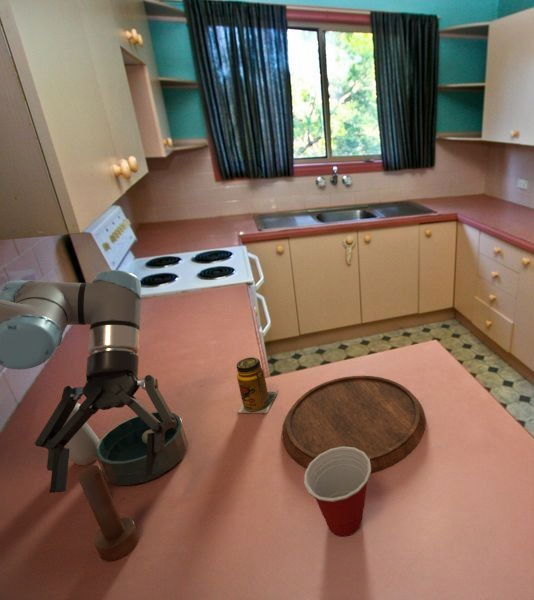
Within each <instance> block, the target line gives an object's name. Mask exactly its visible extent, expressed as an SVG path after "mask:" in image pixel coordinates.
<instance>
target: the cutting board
mask: <svg viewBox="0 0 534 600" xmlns="http://www.w3.org/2000/svg"><path fill="white" fill-rule="evenodd" d="M425 427H426V415H425V411H424V408H423V405H422V403H421V402H420V401H419V399H418V398H417V397H416V396H415V395H414V394H413V393H412V392H411V391H410V390H409V389H408V388H407V387H406V386H404V385H402V384H401V383H399V382H397V381H394V380H391V379H389V378H386V377H385V378H384V377H380V376H374V375H351V376H343V377H339V378H334V379H331V380H328V381H325V382H322V383H320V384H318V385H316V386H315V387H312V388H311V389H309V390H308V391H306V392H305V393H304V394H302V395H301V396H300V397H299V398H298V399H297V400H296V401H295V402H294V404H292V406H291V408H290V409H289V410H288V412H287V414H286V416H285V418H284V420H283V423H282V429H281V437H282V443H283V446H284V449H285V450H286V452H287V454H288V455H289V456H290V458H291V459H292V460H294V462H296V464H298V465H300V466H301V467H303V468H305V469H306V470H307V468H308V466H309V464H310V463H311V462H312V461H313V460H314V459H315V458H316V457H317V456H318V455H320V454H321V453H323V452H325V451H327V450H329V449H333V448H338V447H354V448H356V449H358V450H360V451H363V452H364V453H365V454H366V456H367V457H368V458H369V459H370V465H371V473H370V475H372V474H374V473H377V472H381V471H383V470H386V469H388V468H390V467H392V466H395V465H396V464H398V463H400V462H401V461H402V460H405V458H407V456H409V455H410V454H411V453H412V452H413V451H414V450H415V449H416V447H418V445H419V443H420V442H421V440H422V438H423V436H424V432H425Z"/></svg>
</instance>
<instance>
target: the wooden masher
mask: <svg viewBox="0 0 534 600" xmlns="http://www.w3.org/2000/svg"><path fill="white" fill-rule="evenodd" d="M105 479H106V478H105V476H104V474H103V471H102V469H101V467H100V465H96V464H95V465H90V466H86V467H84V468H83V469H81V470H80V471H79V472H78V474H77V480H78V482H79V484H80V487H81V489H82V491H83V493H84V495H85V498H86V501H87V502H88V504H89V507H90V509H91V512H92V513H93V516H94V519H95V520H96V523H97V525H98V527H99V530H98V532H97V533H96V535H95V536H94V539H93V544H94V547H95V549H96V551H97V553H98V556H99V558H100V559H101V560H102V561H105V562H115V561H119V560H120V559H123V558H124V557H126V556H127V555H129V554H130V553H131V552H132V551H133V550H134V549H135V548H136V547H137V545H138V543H139V540H140V534H139V531H138V528H137V527H136V524H135V522H134V520H133V519H132V518H130V517H121V516H120V513H119V510H118V509H117V506H116V504H115V502H114V499H113V496H112V494H111V491H110V489H109V486H108V484H107V482H106V480H105Z"/></svg>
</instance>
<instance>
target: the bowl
mask: <svg viewBox="0 0 534 600" xmlns="http://www.w3.org/2000/svg"><path fill="white" fill-rule="evenodd" d="M149 412H150V413H151V414H152V415H153V416H154V417H155V418H157V419H158V420H159V421H160V422H161V423H162V422H163V421H162V419H161V417H160V415H159V413H158V412H157V410H155V411H149ZM171 413H172V414H173V416H174V418H175V420H176V422H177V425H176V426H175V427H172V428H170V429H168V430H167V431H166V432H165V439H164V451H163V452H161V453H158V475H153V476H146V461H147V444H146V443H144V442H143V440H142V435H143V433H144V432H145V431H147V430H150V429H151V428H150V427H149V426H148V425H147V424H146V423H145V422H144V421H143V420H142V419H141V418H140V417H139V416H138V415H137V414H136V415H134V416H132V417H129V418H127V419H125V420H123V421H121V422H119V423H117V424H116V425H115V426H113V427H112V428H111V429H109V430H108V431H106V432H105V434H103V436H102V437H101V438H99V442H98V444H97V446H96V457H97V461H98V464H99V467H100V470H101V472H102V475H103V477H104V478H105V479H106V480H107V481H108V482H109V483H111V484H114V485H117V486H133V485H137V484H141V483H146V482H148V481H151V480H153V479H155V478H158V477H160V476H162V475H163V474H164V473H167V472H168V471H169V470H171V469H172V468H174V467H175V466H176V465H177V464H178V463H179V462H180V461H181V460H182V459H183V457H184V455H185V454H186V452H187V449H188V445H189V441H188V439H187V435H186V431H185V428H184V425H183V422H182V418H181V417H180V416H179V415H178V414H176V413H175V412H171Z"/></svg>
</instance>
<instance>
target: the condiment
mask: <svg viewBox="0 0 534 600" xmlns="http://www.w3.org/2000/svg"><path fill="white" fill-rule="evenodd" d="M236 372H237V374H236V378H237V379H236V380H237V384H238V387H239V388H238V389H239V392H240V396H241V401H242V404H241V405H240V407H239V409H238V410H237V413H238V414H239V413H240V414H241V413H242V414H263V413H264V414H267V413H268V412H269V410H270V409H271V406H272V405H273V403H274V401H275V400H276V397H277V394H278V393H279V390H275V391H274V390H273V391H272V390H271V391H268V386H267V381H266V377H265V371H264V368H262V365H261V361H260V359H259V358H257V357H253V356H252V357H246V358H243V359H241V360H239V361H238V362H237V364H236Z"/></svg>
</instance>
